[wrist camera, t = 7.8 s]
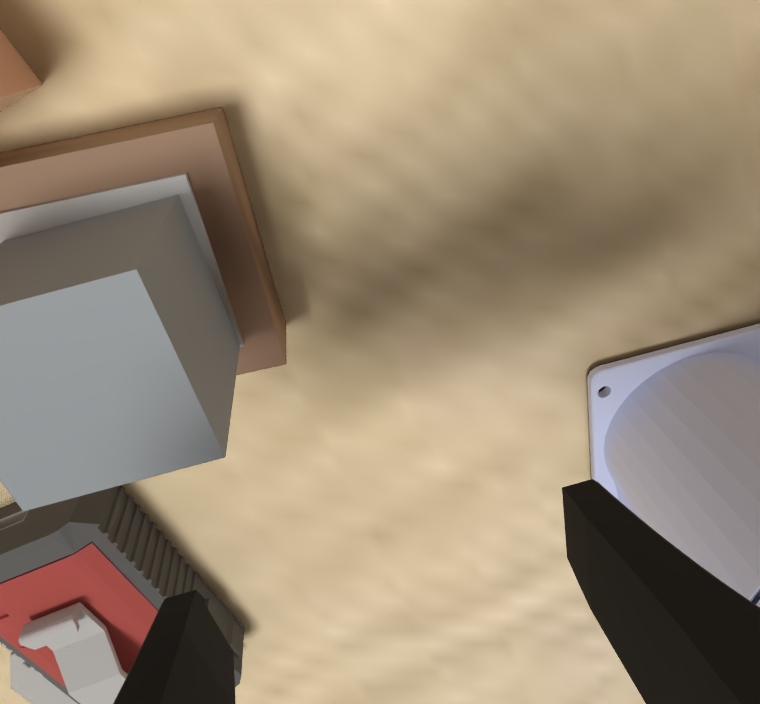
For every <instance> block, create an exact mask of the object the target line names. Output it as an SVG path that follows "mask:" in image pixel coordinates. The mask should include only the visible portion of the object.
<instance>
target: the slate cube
mask: <svg viewBox="0 0 760 704" xmlns="http://www.w3.org/2000/svg"><path fill="white" fill-rule="evenodd" d="M239 349H240V344H239V342H238V339H237V337H236V335H235V332H234V330H233V327H232V325H231V322H230V320H229V317H228V315H227V312H226V310H225V307H224V305H223V302H222V300H221V298H220V295H219V293H218V290H217V288H216V285H215V283H214V280H213V278H212V275H211V273H210V270H209V268H208V265H207V263H206V260H205V258H204V256H203V253H202V251H201V248H200V246H199V243H198V241H197V238H196V236H195V233H194V231H193V228H192V226H191V223H190V221H189V218H188V216H187V214H186V211H185V209H184V206H183V204H182V201H181V199H180V196H179V194H178V195H174V196H171V197H167V198H163V199H159V200H156V201H152V202H148V203H144V204H141V205H137V206H133V207H129V208H126V209H122V210H118V211H114V212H111V213H107V214H103V215H99V216H96V217H92V218H88V219H84V220H81V221H77V222H73V223H69V224H65V225H62V226H58V227H54V228H50V229H47V230H43V231H39V232H35V233H32V234H28V235H24V236H20V237H17V238H13V239H9V240H5V241H3V242H2V243H1V244H0V481H1V482H2V484H3V485H4V486H5V488H6V489H7V490H8V492H9V493H10V494H11V496H12V497H13V498H14V500H15V501H16V502H17V504H18V505H19V506H20V508H21V509H22V510H23V511H27V510H31V509H34V508H38V507H42V506H45V505H49V504H53V503H57V502H60V501H64V500H68V499H71V498H75V497H79V496H83V495H86V494H90V493H94V492H97V491H101V490H105V489H109V488H112V487H116V486H120V485H123V484H127V483H131V482H135V481H138V480H142V479H146V478H150V477H153V476H157V475H161V474H164V473H168V472H172V471H176V470H179V469H183V468H187V467H190V466H194V465H198V464H202V463H205V462H209V461H213V460H216V459H220V458H224V457H225V456H226V448H227V441H228V433H229V425H230V418H231V410H232V402H233V395H234V387H235V379H236V372H237V364H238V356H239Z"/></svg>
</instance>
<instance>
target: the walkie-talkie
mask: <svg viewBox="0 0 760 704" xmlns="http://www.w3.org/2000/svg"><path fill="white" fill-rule="evenodd" d="M155 526H156V525H155V523H154V522H153V523H151V522H150V521H149V520H148V515H147V514H143V513H142V512H141V511H140V506H139V505H135V504H134V503H133V501H132V497H131V496H130V495H129V496H127V495H126V493H125V492H124V487H123V486H116V487H112V488H109V489H105V490H101V491H97V492H94V493H90V494H86V495H83V496H79V497H75V498H71V499H68V500H64V501H60V502H57V503H53V504H49V505H45V506H42V507H38V508H34V509H31V510H27V511H23V510H22V509H21V508H20V506H19V505H18V504H17V502H15V503H12V504H10V505H7V506H5V507H2V508H0V642H1V645H2V646H3V647H5V648H6V649H7V650H9V651H10V652H11V655H10V658H11V689H13V690H14V691H15V692H17V693H18V694H19V695H21V696H22V697H23V698H25V699H26V700H27V701H29V702H30V703H31V704H113V703H114V701H115V699H116V697H117V695H118V693H119V691H120V689H121V687H122V685H123V683H124V681H125V679H126V677H127V675H128V673H129V671H130V669H131V667H132V665H133V663H134V661H135V659H136V657H137V655H138V652H139V650H140V648H141V646H142V644H143V642H144V640H145V638H146V636H147V634H148V631H149V629H150V627H151V625H152V623H153V621H154V619H155V617H156V615H157V612H158V610H159V608H160V606H161V604H162V602H163V601H164V599H165V598H168V597H172V596H175V595H179V594H183V593H186V592H190V591H193V590H197V592H198V593H199V595H200V597H201V598H202V600H203V602H204V603H205V605H206V607H207V608H208V610H209V612H210V613H211V615H212V617H213V618H214V620H215V622H216V623H217V625H218V627H219V628H220V630H221V632H222V633H223V635H224V637H225V638H226V640H227V642H228V644H229V645H230V647H231V649H232V650H233V657H234V677H235V687H236V686H237V685H238V684H239V683H240V679H241V670H242V654H243V638H244V627H243V626H242V625H241V623H240V622H239V621H238V620H237V619H236V618H235V616H234V615H233V614H232V613H231V612H230V611H229V609H228V608H227V607H226V606H225V605H224V604H223V602H222V601H221V600H220V599H219V598H218V597H217V596H216V594H215V593H214V592H213V591H212V590H211V589H210V587H209V586H208V585H207V584H206V583H205V582H204V580H203V579H202V578H201V577H200V576H199V575H198V573H197V572H193V571H192V570H191V565H190V564H186V563H185V562H184V557H183V556H179V555H178V554H177V549H176V548H172V547H171V545H170V541H169V540H165V538H164V537H163V533H162V532H161V531H158V530H157V529H156V528H155Z"/></svg>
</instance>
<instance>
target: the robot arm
mask: <svg viewBox="0 0 760 704" xmlns="http://www.w3.org/2000/svg"><path fill="white" fill-rule="evenodd" d="M587 386H588V409H589V433H590V456H591V480H588V481H584V482H581V483H577V484H574V485H570V486H566V487H563V488H562V493H563V506H564V520H565V533H566V547H567V558H568V560H569V562H570V565H571V567H572V569H573V571H574V574H575V576H576V578H577V580H578V583H579V585H580V587H581V589H582V591H583V594H584V596H585V598H586V600H587V602H588V604H589V607H590V609H591V610H592V612H593V614H594V616H595V617H596V619H597V621H598V623H599V624H600V626H601V628H602V629H603V631H604V633H605V635H606V636H607V638H608V640H609V641H610V643H611V645H612V647H613V648H614V650H615V652H616V653H617V655H618V657H619V659H620V660H621V662H622V664H623V665H624V667H625V669H626V670H627V672H628V674H629V676H630V677H631V679H632V681H633V682H634V684H635V686H636V687H637V689H638V691H639V693H640V694H641V696H642V698H643V699H644V701H645V703H646V704H760V324H756V325H752V326H748V327H744V328H741V329H737V330H733V331H729V332H725V333H722V334H718V335H714V336H710V337H706V338H703V339H699V340H695V341H691V342H688V343H684V344H680V345H676V346H672V347H669V348H665V349H661V350H657V351H653V352H650V353H646V354H642V355H638V356H634V357H631V358H627V359H623V360H619V361H615V362H612V363H608V364H604V365H600V366H598V367H595V368H594V369H593V370H592V371H590V373H589V375H588V378H587ZM604 386H606V388H605V389H604V390H603V391H601V392H598V391H599V389H600V388H602V387H604ZM113 704H235V677H234V657H233V650H232V649H231V647H230V645H229V644H228V642H227V640H226V638H225V637H224V635H223V633H222V632H221V630H220V628H219V627H218V625H217V623H216V622H215V620H214V618H213V617H212V615H211V613H210V612H209V610H208V608H207V607H206V605H205V603H204V602H203V600H202V598H201V597H200V595H199V593H198V592H197V590H193V591H190V592H186V593H183V594H179V595H175V596H172V597H168V598H165V599H164V601H163V602H162V604H161V606H160V608H159V610H158V612H157V615H156V617H155V619H154V621H153V623H152V625H151V627H150V629H149V631H148V634H147V636H146V638H145V640H144V642H143V644H142V646H141V648H140V650H139V652H138V655H137V657H136V659H135V661H134V663H133V665H132V667H131V669H130V671H129V673H128V675H127V677H126V679H125V681H124V683H123V685H122V687H121V689H120V691H119V693H118V695H117V697H116V699H115V701H114V703H113Z"/></svg>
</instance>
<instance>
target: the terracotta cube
mask: <svg viewBox="0 0 760 704" xmlns="http://www.w3.org/2000/svg"><path fill="white" fill-rule="evenodd" d="M41 85H42V83H41V81H40V80H39V79H38V77H37V76H36V75H35V74H34V72H33V71H32V70H31V68H30V67H29V66H28V64H27V63H26V62H25V61H24V59H23V58H22V57H21V55H20V54H19V53H18V51H17V50H16V49H15V48H14V46H13V45H12V44H11V42H10V41H9V40H8V38H7V37H6V36H5V35H4V33H3V32H2V31H1V29H0V111H2V110H3V109H5V108H6V107H8V106H9V105H11V104H13V103H14V102H16V101H17V100H19V99H20V98H22V97H24V96H25V95H27V94H28V93H30V92H31V91H33V90H34V89H36V88H38V87H39V86H41Z"/></svg>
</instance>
